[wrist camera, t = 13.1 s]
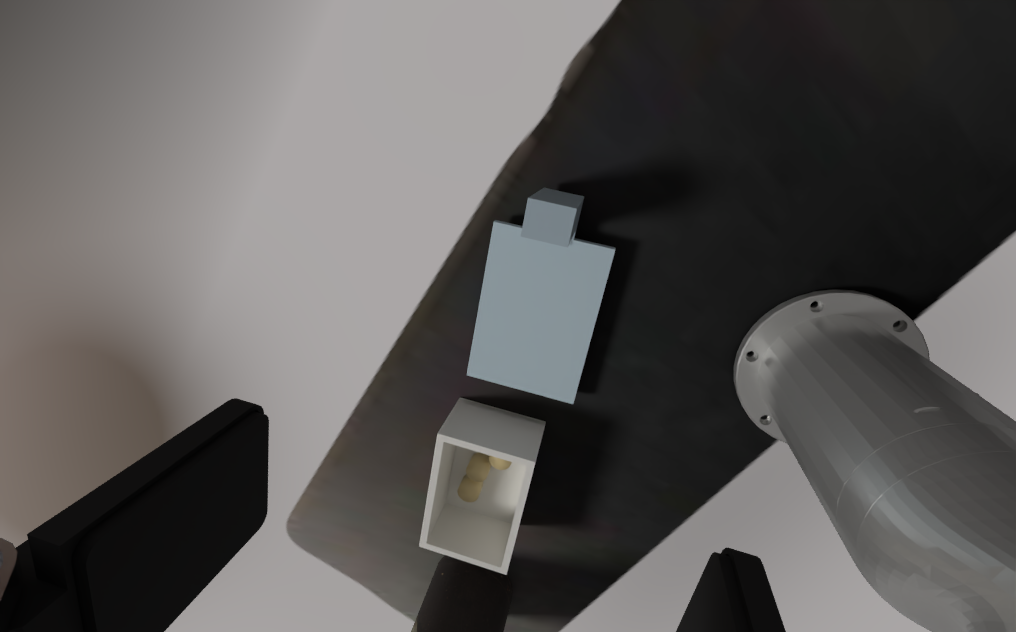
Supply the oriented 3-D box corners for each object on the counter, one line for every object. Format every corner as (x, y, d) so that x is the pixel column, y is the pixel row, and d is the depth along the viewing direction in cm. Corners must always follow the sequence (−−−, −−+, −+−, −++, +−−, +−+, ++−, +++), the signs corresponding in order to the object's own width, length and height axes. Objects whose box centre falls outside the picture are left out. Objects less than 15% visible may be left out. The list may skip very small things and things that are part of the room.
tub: (546, 421, 44) (535, 462, 38) (519, 525, 48) (506, 575, 42) (459, 397, 45) (437, 433, 39) (441, 500, 49) (419, 546, 44)
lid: (626, 204, 36) (628, 220, 29) (574, 393, 42) (565, 447, 35) (506, 178, 38) (478, 186, 30) (472, 366, 44) (442, 412, 36)
